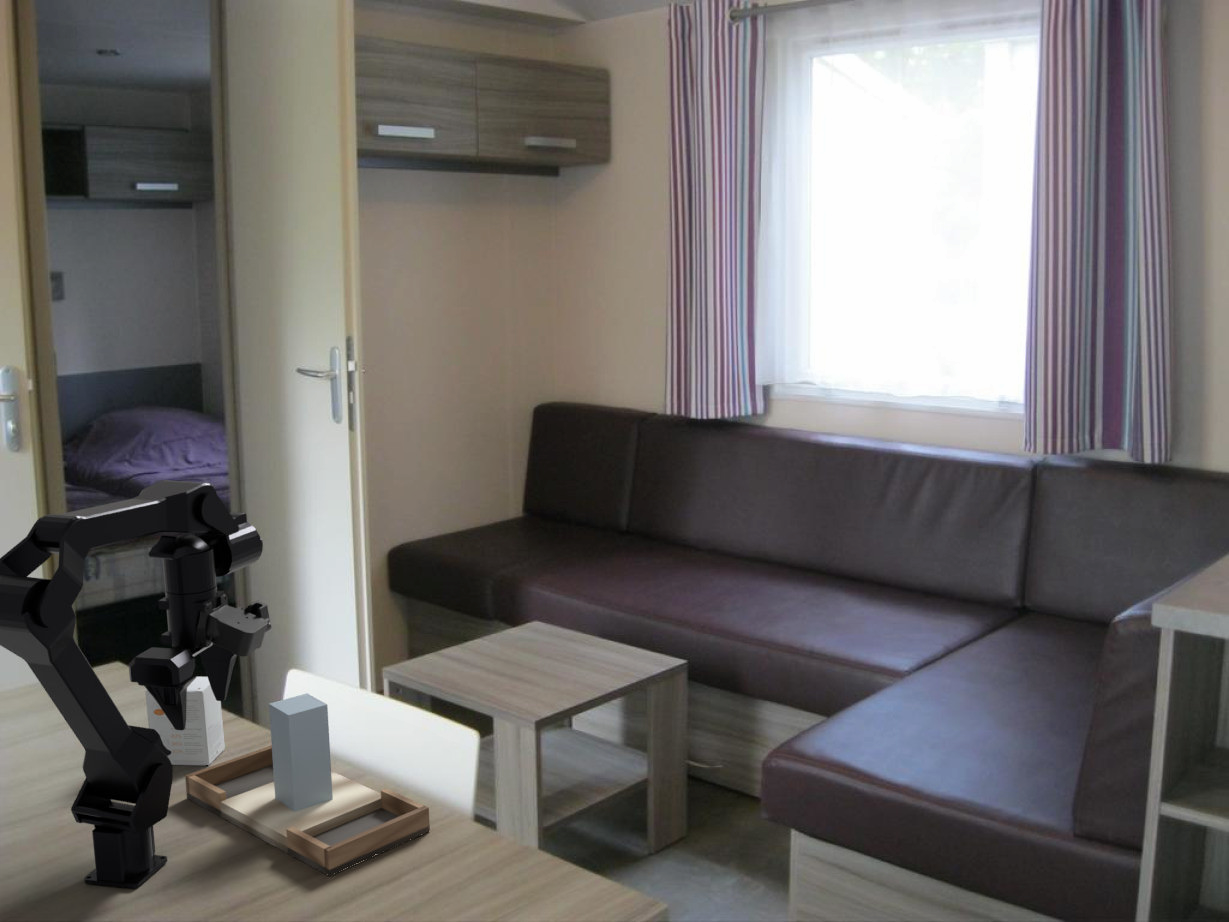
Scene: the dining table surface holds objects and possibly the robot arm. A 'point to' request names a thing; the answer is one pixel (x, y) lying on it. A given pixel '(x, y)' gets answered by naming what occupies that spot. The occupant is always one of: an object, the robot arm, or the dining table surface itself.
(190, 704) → the small box
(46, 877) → the dining table surface
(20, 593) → the robot arm
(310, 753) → the block
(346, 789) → the box
